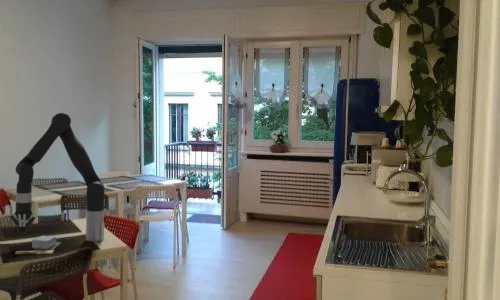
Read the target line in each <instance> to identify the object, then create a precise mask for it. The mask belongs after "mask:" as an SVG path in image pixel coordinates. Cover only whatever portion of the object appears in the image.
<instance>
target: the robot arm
mask: <svg viewBox="0 0 500 300" xmlns="http://www.w3.org/2000/svg"><path fill="white" fill-rule="evenodd" d="M71 124H72V119H71V116H70V115H69V114H68V113H65V112H58V113H56V114H55V115H53V117H52V118H51V124H50V125H49V127H48V129H47V130H46V131H45V132H44V134H43V135H42V136H41V137H40V138H39V140H38V141H36V143H35V144H34V145H33V146H32V148H31V149H30V150H29V151H28V153H27V154H26V155H25V156H24V157H23V158H22V159H21V160H20V161H19V162H18V163H17V164H16V166H15V173H16V174H17V175H18V181H17V183H16V189H15V190H16V191H15V192H16V194H15V212H14V214H12V215H11V216H9V217H10V219H11V221H12V222H13V223H14V224H15V225H16V226H19V233H20V234H23V235H25V234H26V233H27V231H28V226H31V225H32V223H33V222H34V221H35V220H36V219H37V218H38V217H37V215H34V213H33V211H32V209H33V206H32V205H33V194H32V187H33V186H32V184H33V183H32V182H33V179H34V166H35V165H36V164H38V163H40V162H41V161H42V159H43V158H44V157H45V155H46V154H47V152H48V151H49V150H50V148H51V147H52V145H53V144H54V142H55V141H56V140H57V139H58V137H59V138H60V140H61V141H62V144H63V146H64V149H65V150H66V154H67V155H68V157H69V159H70V161H71V163H72V165H73V166H74V168H75V169H76V171H77V172H78V173H79V174H80V175H81V177H82V179H83V181H84V183H85V185H86V205H85V206H86V216H85V217H86V221H85V222H86V224H85V241H87V242H89V243H90V242H102V241H103V240H104V238H105V221H104V217H105V215H104V213H105V212H104V211H105V206H104V205H105V191H106V188H105V185H104V183H103V182H102V181H101V178H99V176H98V174H97V173H96V171H95V169H94V165H93V163H92V161H91V159H90V155H89V154H88V152H87V150H86V149H85V147H84V146H83V144H82V142H81V141H80V140H79V139H78V138H77V137H76V135H75V133H74V131H73V129H72V126H71ZM29 219H30V220H29Z"/></svg>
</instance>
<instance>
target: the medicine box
mask: <svg viewBox="0 0 500 300" xmlns="http://www.w3.org/2000/svg"><path fill="white" fill-rule="evenodd" d="M56 242H57V237H56V236H52V235H51V236H50V235H41V236H38V237H35V238H33V239H31V244H32V245H31V247H32V248H33V249H34V248H41V249H48V248H50V247H52V246H54V245H56Z"/></svg>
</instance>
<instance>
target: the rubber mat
mask: <svg viewBox="0 0 500 300" xmlns="http://www.w3.org/2000/svg"><path fill="white" fill-rule="evenodd" d="M61 244H62V242H61V241H56V245H54V246H52V247H50V248H48V249H41V248H33V251H39V250H54V251H55V250H56V249H57V248H58V247H59V246H60V245H61ZM56 247H57V248H56ZM55 248H56V249H55Z"/></svg>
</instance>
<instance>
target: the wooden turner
mask: <svg viewBox="0 0 500 300" xmlns="http://www.w3.org/2000/svg"><path fill="white" fill-rule="evenodd" d="M54 251H55V249H54V250H16V251H15V253H14V254H15V255H28V254H29V255H30V254H31V255H33V254H36V255H52V254H54Z"/></svg>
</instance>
